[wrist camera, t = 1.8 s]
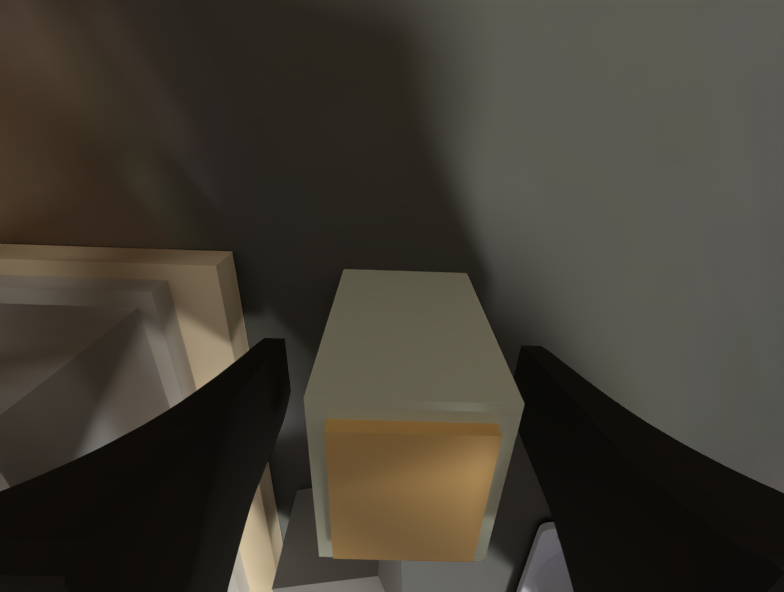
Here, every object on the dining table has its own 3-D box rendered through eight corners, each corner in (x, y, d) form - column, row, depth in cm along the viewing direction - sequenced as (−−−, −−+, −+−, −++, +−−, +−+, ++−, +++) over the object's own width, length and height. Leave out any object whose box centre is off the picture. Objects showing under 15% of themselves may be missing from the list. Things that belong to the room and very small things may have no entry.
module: (466, 272, 12) (530, 416, 6) (450, 391, 14) (487, 574, 9) (343, 268, 12) (299, 410, 6) (347, 388, 14) (316, 570, 9)
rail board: (232, 251, 12) (56, 406, 6) (293, 606, 22) (254, 800, 16) (-24, 243, 12) (-483, 390, 6) (155, 603, 22) (62, 796, 16)
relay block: (381, 475, 17) (378, 575, 13) (400, 528, 18) (402, 629, 15) (297, 488, 17) (271, 589, 13) (323, 538, 19) (307, 639, 15)
